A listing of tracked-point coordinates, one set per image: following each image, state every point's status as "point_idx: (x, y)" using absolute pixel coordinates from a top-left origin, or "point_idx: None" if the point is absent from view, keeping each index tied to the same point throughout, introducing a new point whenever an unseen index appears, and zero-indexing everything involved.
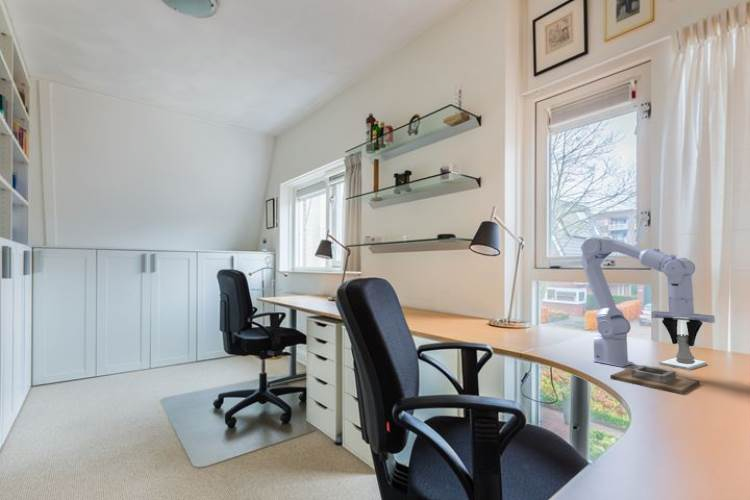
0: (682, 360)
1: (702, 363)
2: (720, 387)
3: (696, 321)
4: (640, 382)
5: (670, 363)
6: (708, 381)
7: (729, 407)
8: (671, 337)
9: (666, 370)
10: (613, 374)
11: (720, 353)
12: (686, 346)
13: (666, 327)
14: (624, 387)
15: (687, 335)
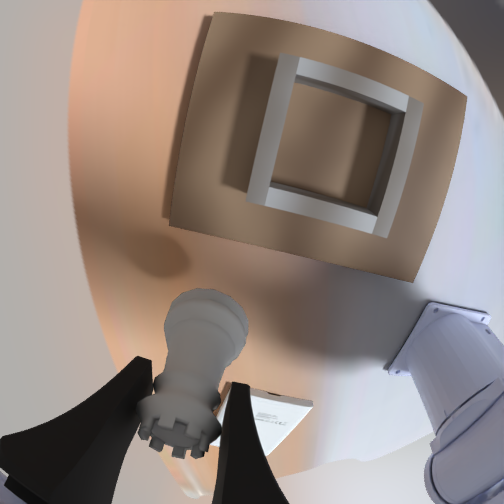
0: (213, 300)
1: None
2: (119, 216)
3: (21, 489)
4: (366, 46)
5: (281, 407)
6: (159, 277)
7: (102, 3)
8: (248, 420)
9: (284, 192)
10: (462, 113)
11: (205, 485)
12: (169, 365)
13: (278, 497)
14: (396, 2)
15: (141, 434)
